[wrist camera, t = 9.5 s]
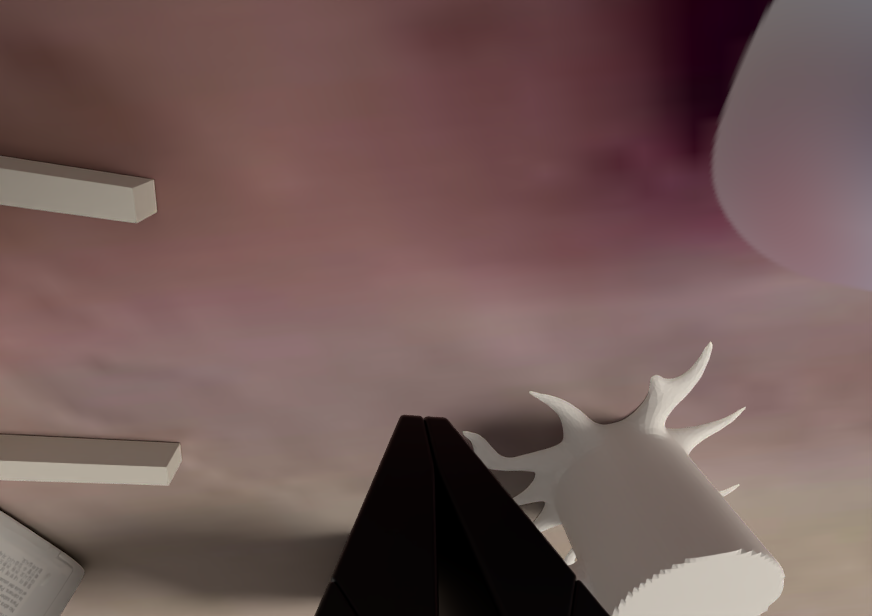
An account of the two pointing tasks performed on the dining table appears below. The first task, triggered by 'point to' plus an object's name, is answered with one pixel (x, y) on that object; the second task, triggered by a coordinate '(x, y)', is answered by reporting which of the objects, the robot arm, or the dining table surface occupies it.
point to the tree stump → (645, 511)
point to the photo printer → (33, 573)
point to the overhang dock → (80, 456)
